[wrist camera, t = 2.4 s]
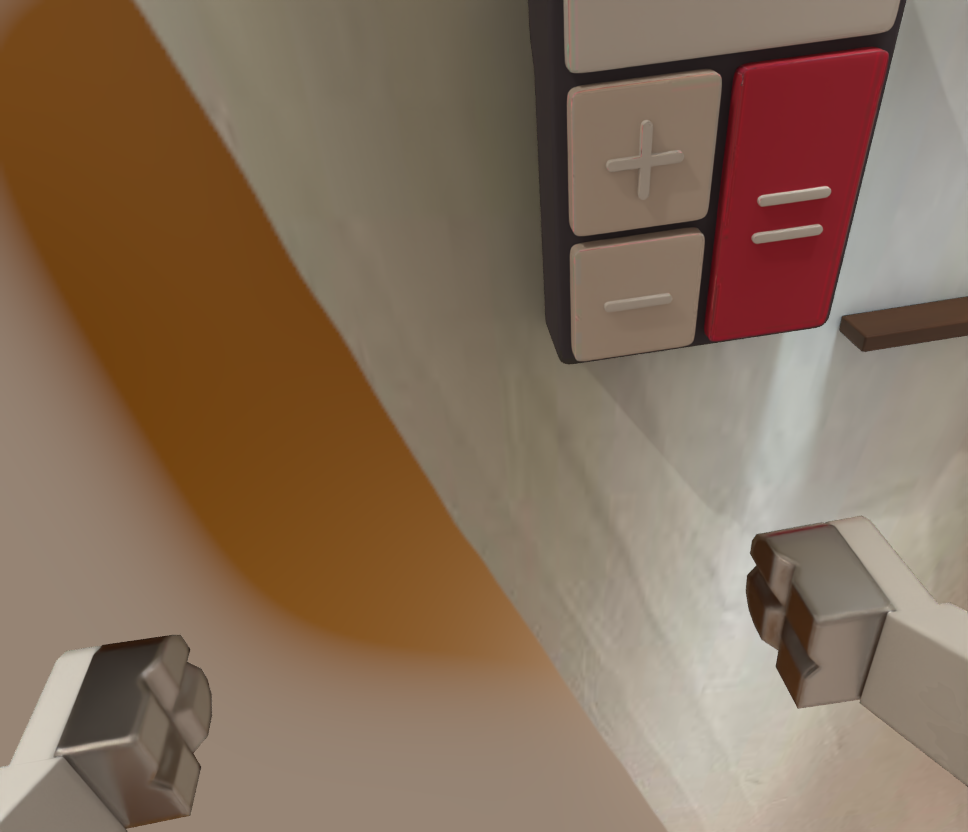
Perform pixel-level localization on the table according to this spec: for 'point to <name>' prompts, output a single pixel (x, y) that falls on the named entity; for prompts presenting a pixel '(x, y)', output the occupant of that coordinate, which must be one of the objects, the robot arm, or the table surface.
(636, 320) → the calculator
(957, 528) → the table surface
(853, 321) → the bay
